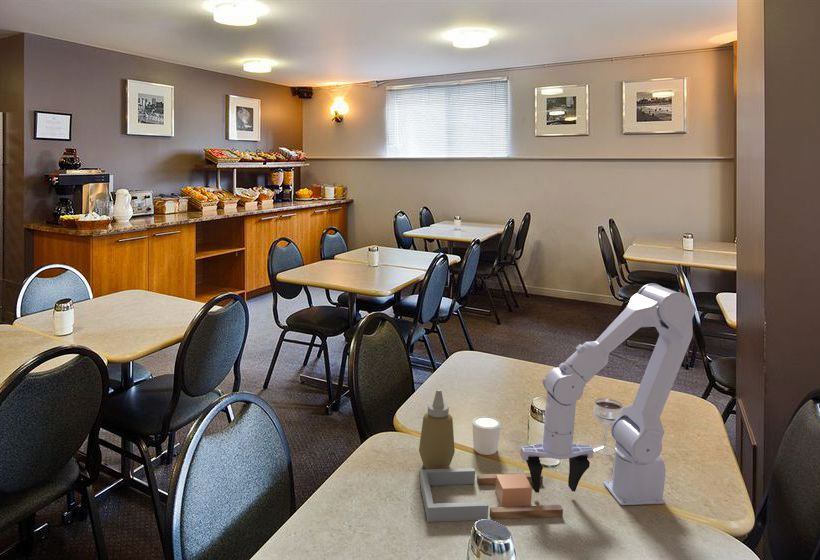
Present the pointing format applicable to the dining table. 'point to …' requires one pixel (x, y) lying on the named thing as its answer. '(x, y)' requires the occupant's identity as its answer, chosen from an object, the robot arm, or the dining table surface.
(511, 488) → the block
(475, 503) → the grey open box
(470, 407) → the dining table surface
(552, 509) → the channel
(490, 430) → the white cup
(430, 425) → the squeeze bottle
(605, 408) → the wineglass
